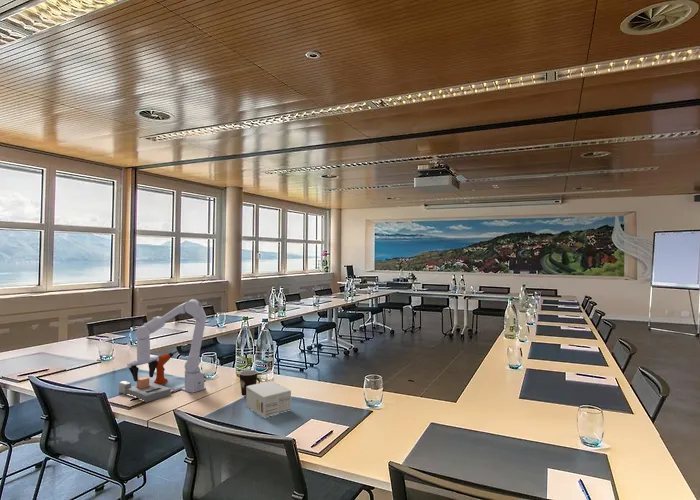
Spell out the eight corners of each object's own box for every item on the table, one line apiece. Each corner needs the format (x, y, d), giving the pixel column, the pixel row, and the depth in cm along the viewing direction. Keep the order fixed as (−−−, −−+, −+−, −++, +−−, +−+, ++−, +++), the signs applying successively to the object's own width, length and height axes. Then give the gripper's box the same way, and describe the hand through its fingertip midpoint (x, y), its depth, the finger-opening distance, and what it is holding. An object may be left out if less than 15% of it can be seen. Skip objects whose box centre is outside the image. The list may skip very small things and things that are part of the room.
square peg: (149, 392, 199) (149, 378, 199) (141, 394, 196) (141, 380, 196) (144, 390, 202) (145, 376, 202) (136, 393, 198) (136, 378, 198)
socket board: (170, 394, 196) (170, 388, 196) (146, 402, 186) (146, 395, 186) (150, 387, 206) (150, 381, 206) (125, 394, 196) (125, 388, 196)
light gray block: (130, 393, 198) (130, 383, 198) (125, 394, 196) (125, 384, 196) (124, 390, 202) (124, 380, 202) (119, 392, 199) (119, 382, 199)
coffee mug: (237, 392, 200) (237, 371, 200) (255, 389, 204) (255, 369, 204) (242, 399, 190) (242, 378, 190) (261, 396, 194) (261, 375, 194)
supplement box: (245, 407, 181) (245, 386, 181) (272, 400, 189) (272, 380, 189) (263, 419, 168) (263, 396, 168) (291, 411, 176) (291, 389, 176)
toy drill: (183, 372, 227) (180, 346, 225) (159, 387, 209) (157, 359, 207) (175, 371, 228) (173, 345, 226) (151, 386, 210) (149, 358, 208)
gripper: (153, 346, 207) (153, 373, 207) (123, 352, 195) (124, 381, 195) (161, 348, 203) (161, 376, 203) (131, 355, 191) (131, 384, 191)
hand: (143, 379), depth 199 cm, fingers open, 7 cm apart
